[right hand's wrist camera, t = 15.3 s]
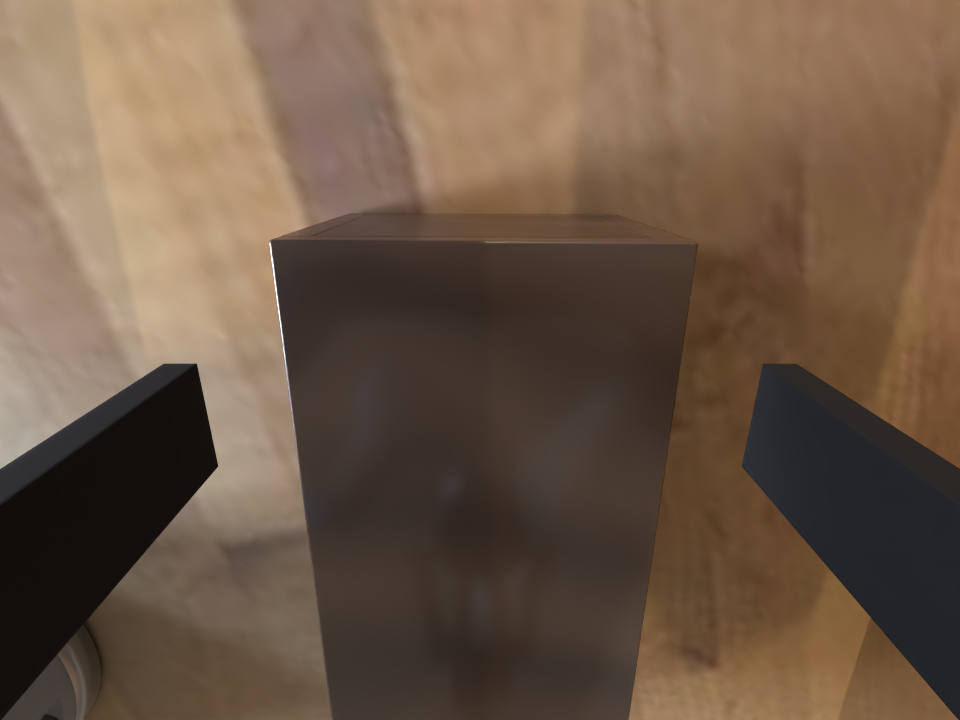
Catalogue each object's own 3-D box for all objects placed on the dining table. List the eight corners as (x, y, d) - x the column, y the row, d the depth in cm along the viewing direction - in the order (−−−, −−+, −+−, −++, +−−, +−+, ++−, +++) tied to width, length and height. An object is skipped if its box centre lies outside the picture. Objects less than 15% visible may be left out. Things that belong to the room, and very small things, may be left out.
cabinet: (583, 573, 27) (626, 741, 19) (376, 572, 27) (333, 739, 19) (616, 214, 21) (699, 241, 13) (348, 213, 21) (267, 239, 13)
